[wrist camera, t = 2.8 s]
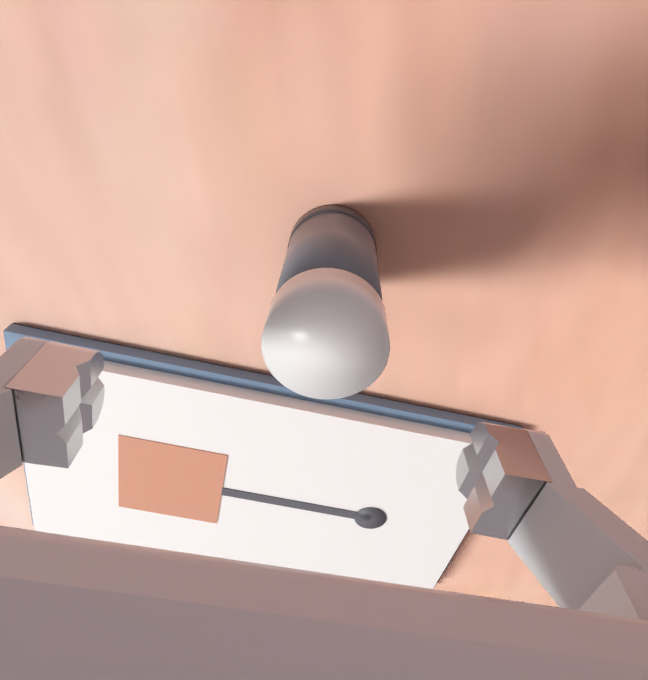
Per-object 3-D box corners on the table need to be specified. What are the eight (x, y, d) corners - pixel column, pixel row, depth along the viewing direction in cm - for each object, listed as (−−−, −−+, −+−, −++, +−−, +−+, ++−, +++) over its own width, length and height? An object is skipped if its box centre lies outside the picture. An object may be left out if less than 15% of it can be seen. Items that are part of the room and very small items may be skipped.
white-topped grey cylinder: (387, 215, 18) (406, 307, 12) (363, 294, 20) (370, 409, 14) (297, 194, 18) (272, 278, 12) (281, 276, 19) (253, 386, 13)
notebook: (521, 426, 23) (530, 447, 22) (429, 583, 30) (432, 605, 29) (11, 323, 21) (-8, 340, 20) (38, 516, 28) (25, 537, 27)
